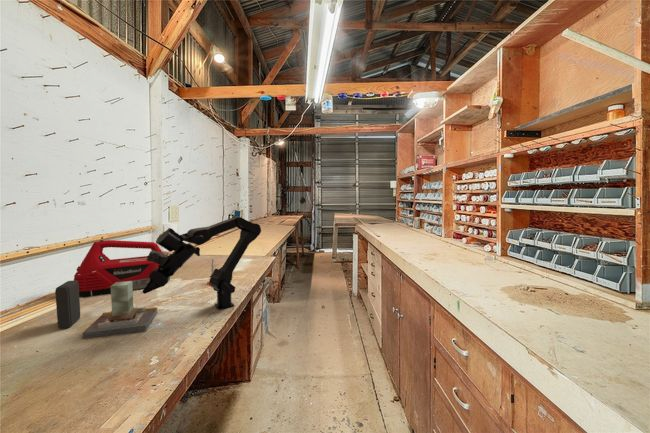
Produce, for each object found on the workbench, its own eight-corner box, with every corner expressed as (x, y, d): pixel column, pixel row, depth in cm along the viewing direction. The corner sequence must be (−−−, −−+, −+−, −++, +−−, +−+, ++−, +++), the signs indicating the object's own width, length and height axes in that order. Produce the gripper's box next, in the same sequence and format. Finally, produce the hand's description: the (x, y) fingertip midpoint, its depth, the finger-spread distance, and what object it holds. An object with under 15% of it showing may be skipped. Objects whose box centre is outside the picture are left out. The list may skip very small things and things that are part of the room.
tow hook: (230, 283, 153) (217, 280, 157) (230, 260, 151) (217, 257, 155) (218, 288, 145) (205, 285, 149) (218, 263, 144) (205, 260, 148)
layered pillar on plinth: (137, 313, 108) (136, 279, 107) (131, 321, 101) (129, 285, 100) (116, 315, 106) (114, 281, 105) (108, 324, 99) (105, 287, 98)
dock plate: (157, 312, 114) (157, 304, 114) (145, 331, 99) (145, 321, 98) (103, 318, 108) (103, 309, 108) (82, 338, 93) (81, 328, 93)
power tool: (171, 285, 148) (169, 237, 146) (69, 300, 127) (65, 244, 125) (168, 278, 161) (166, 234, 159) (76, 290, 140) (72, 239, 138)
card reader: (68, 319, 108) (66, 280, 106) (82, 317, 109) (79, 279, 108) (56, 330, 99) (53, 287, 98) (70, 328, 100) (67, 286, 99)
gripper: (167, 239, 114) (136, 268, 112) (154, 247, 96) (118, 282, 94) (189, 257, 117) (160, 286, 115) (181, 268, 99) (146, 303, 97)
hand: (147, 288), depth 105 cm, fingers open, 9 cm apart
